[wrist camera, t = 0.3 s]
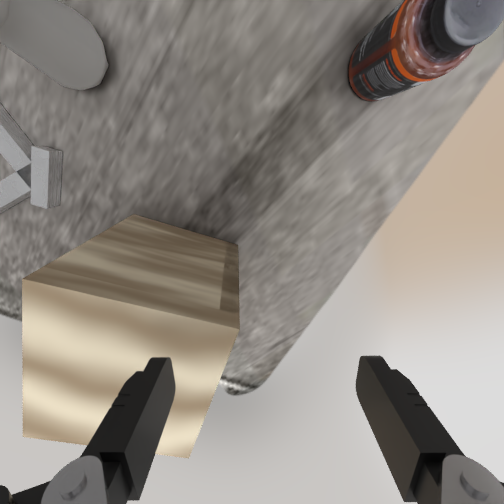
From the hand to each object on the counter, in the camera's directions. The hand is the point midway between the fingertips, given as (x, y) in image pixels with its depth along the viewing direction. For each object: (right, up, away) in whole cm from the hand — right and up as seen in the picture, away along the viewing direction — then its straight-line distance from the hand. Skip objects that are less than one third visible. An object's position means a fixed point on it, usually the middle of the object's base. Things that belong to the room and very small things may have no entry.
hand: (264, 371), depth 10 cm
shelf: (-11, +1, +22) cm, 24 cm away
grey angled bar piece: (-25, +14, +16) cm, 33 cm away
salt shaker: (-16, +23, +13) cm, 31 cm away
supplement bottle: (+12, +24, +14) cm, 30 cm away
